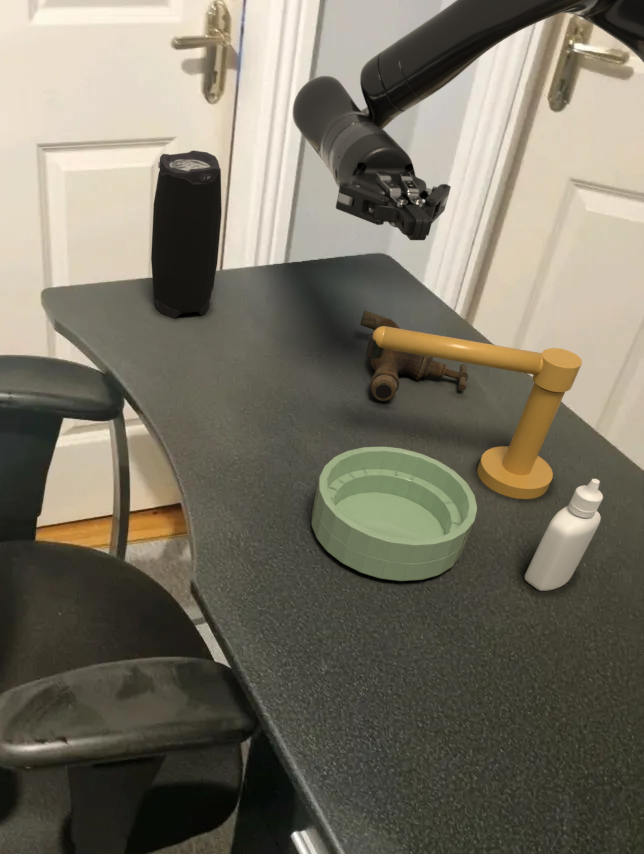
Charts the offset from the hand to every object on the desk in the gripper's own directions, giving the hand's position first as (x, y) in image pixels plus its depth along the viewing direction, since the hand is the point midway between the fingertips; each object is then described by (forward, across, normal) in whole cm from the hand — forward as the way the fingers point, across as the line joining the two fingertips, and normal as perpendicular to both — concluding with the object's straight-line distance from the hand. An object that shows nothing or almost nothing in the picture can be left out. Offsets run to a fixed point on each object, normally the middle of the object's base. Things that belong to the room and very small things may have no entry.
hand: (421, 230), depth 85 cm
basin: (+18, -4, +24) cm, 30 cm away
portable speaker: (-32, -18, +24) cm, 44 cm away
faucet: (-12, +9, +24) cm, 28 cm away
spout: (+7, +6, +12) cm, 15 cm away
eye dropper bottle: (+26, +11, +24) cm, 37 cm away
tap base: (+10, +14, +24) cm, 29 cm away
